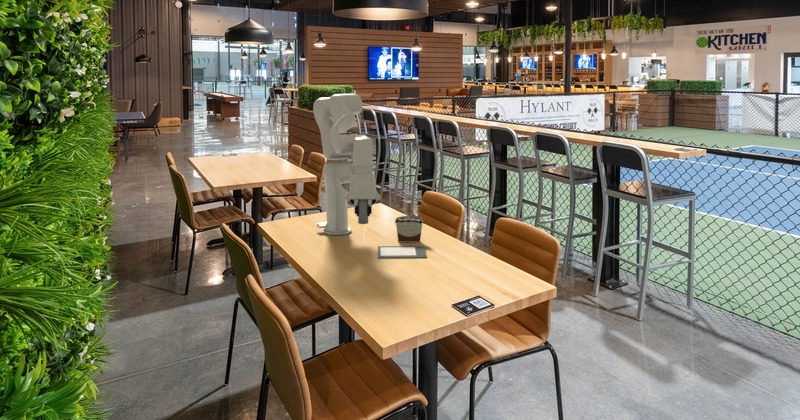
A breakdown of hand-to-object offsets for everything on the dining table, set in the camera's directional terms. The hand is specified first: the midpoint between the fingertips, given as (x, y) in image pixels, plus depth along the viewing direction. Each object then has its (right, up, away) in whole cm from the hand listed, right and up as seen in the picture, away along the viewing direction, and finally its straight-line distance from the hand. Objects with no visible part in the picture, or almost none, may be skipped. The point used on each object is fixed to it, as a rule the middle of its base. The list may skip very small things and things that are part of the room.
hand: (363, 215), depth 229 cm
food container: (+19, -11, +21) cm, 30 cm away
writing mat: (+15, -15, +4) cm, 22 cm away
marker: (0, -3, +1) cm, 3 cm away
